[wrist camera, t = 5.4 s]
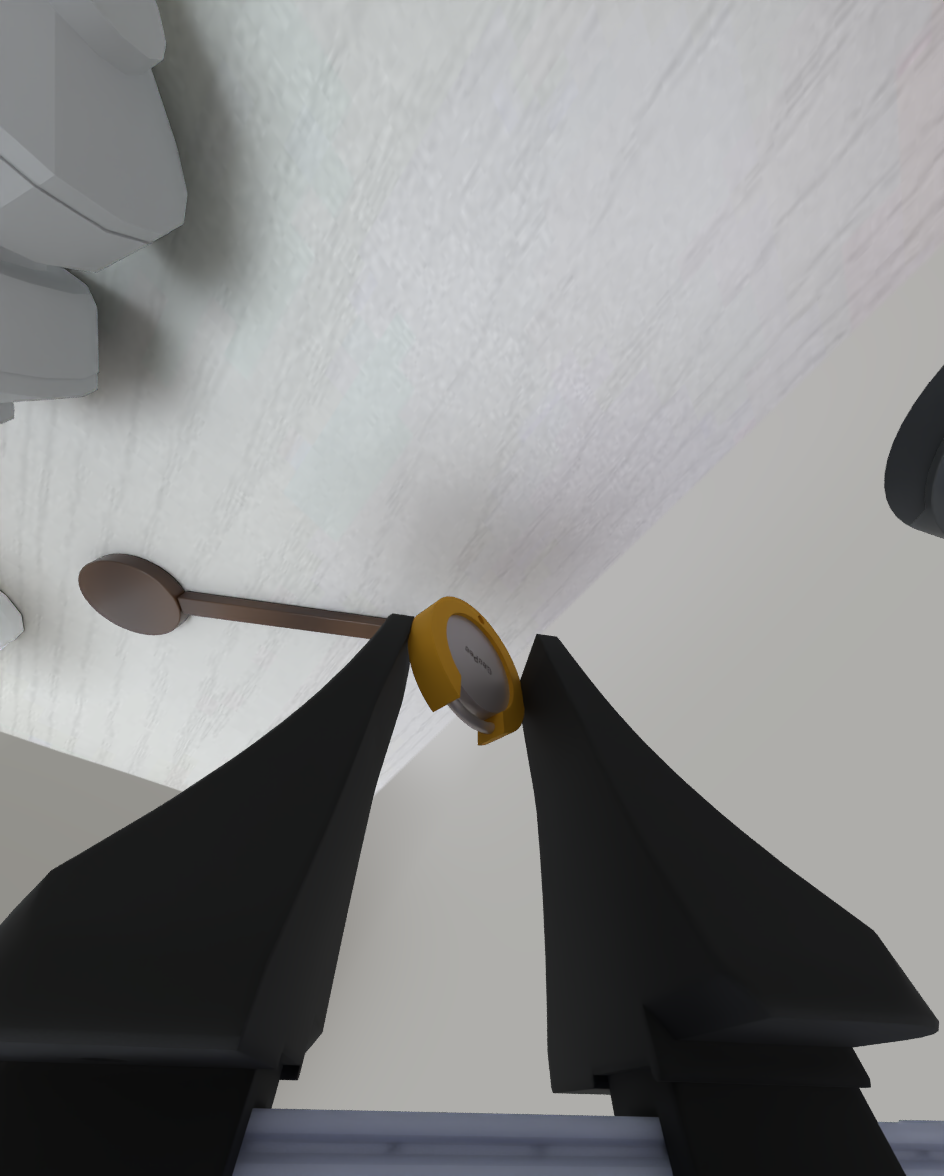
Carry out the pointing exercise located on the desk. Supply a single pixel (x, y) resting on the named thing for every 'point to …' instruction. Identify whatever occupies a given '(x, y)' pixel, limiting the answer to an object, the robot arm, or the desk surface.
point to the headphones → (75, 179)
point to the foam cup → (9, 621)
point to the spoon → (194, 602)
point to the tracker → (466, 668)
